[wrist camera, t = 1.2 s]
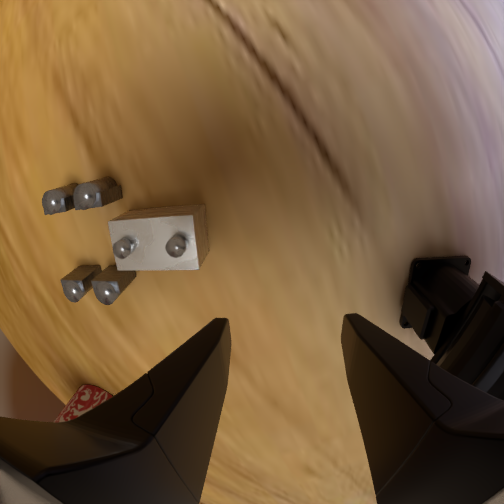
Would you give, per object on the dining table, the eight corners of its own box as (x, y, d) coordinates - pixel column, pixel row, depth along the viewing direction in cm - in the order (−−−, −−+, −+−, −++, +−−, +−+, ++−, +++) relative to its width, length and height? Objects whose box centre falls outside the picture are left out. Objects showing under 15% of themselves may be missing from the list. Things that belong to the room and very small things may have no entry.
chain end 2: (119, 174, 19) (95, 181, 16) (138, 285, 22) (120, 305, 19) (94, 179, 19) (68, 186, 16) (113, 284, 22) (94, 304, 19)
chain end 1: (84, 181, 19) (59, 188, 16) (104, 284, 22) (85, 303, 19) (63, 185, 19) (37, 193, 16) (84, 283, 23) (64, 301, 19)
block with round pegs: (205, 203, 20) (189, 218, 16) (209, 250, 21) (196, 275, 17) (130, 209, 20) (101, 224, 16) (137, 252, 21) (112, 275, 17)
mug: (62, 381, 29) (17, 450, 16) (99, 373, 27) (47, 460, 14) (120, 437, 32) (92, 504, 20) (162, 436, 31) (136, 517, 18)
